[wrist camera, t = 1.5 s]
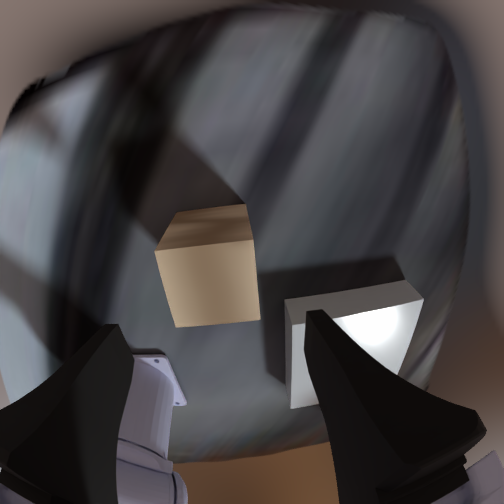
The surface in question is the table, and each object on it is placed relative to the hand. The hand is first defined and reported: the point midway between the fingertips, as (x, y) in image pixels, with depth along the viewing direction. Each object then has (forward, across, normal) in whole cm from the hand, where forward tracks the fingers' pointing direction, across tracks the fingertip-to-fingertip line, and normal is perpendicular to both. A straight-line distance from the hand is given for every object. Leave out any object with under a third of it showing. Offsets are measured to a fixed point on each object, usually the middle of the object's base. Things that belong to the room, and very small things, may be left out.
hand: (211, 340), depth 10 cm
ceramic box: (+10, -10, +11) cm, 18 cm away
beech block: (+10, 0, 0) cm, 10 cm away
